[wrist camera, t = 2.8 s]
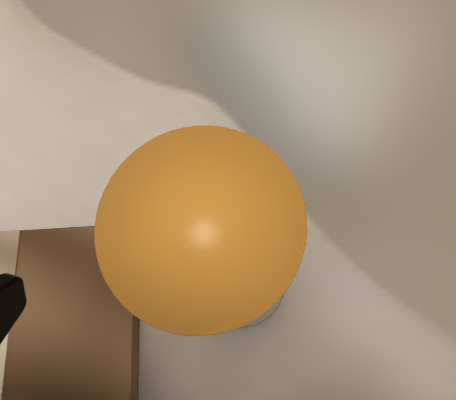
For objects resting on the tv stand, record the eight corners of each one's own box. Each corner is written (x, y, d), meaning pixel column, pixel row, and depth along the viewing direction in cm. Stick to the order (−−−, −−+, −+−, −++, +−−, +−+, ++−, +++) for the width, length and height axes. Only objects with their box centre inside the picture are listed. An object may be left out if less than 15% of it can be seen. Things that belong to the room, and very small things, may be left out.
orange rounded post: (286, 324, 18) (342, 352, 5) (201, 327, 18) (67, 363, 6) (279, 238, 19) (312, 101, 7) (199, 243, 19) (84, 119, 7)
